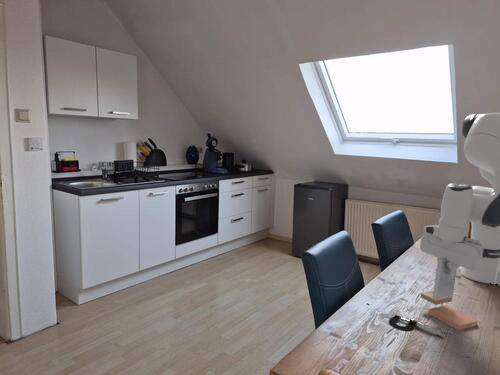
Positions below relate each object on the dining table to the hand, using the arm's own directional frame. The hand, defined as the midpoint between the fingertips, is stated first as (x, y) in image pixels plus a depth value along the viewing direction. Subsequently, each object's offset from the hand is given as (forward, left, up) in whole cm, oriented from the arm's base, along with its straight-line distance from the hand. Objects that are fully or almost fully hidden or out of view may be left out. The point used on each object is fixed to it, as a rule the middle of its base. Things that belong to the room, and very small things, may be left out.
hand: (446, 273), depth 123 cm
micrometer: (+18, +5, -15) cm, 24 cm away
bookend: (0, -2, -10) cm, 10 cm away
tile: (0, -1, -14) cm, 14 cm away
